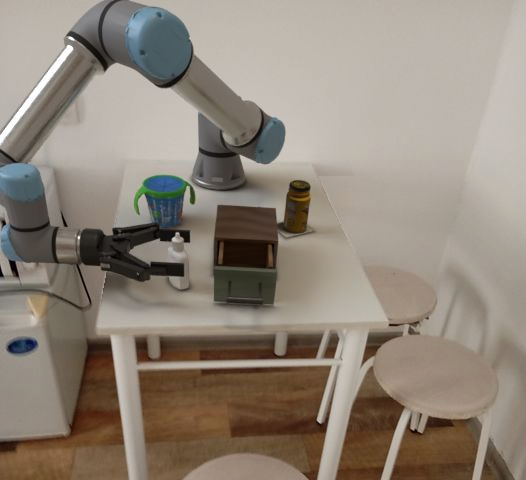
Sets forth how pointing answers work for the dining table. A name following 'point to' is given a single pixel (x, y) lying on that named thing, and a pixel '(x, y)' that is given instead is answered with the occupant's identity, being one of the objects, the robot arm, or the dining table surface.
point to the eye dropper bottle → (179, 256)
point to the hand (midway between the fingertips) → (187, 252)
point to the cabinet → (245, 227)
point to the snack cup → (164, 198)
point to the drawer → (245, 273)
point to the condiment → (296, 209)
